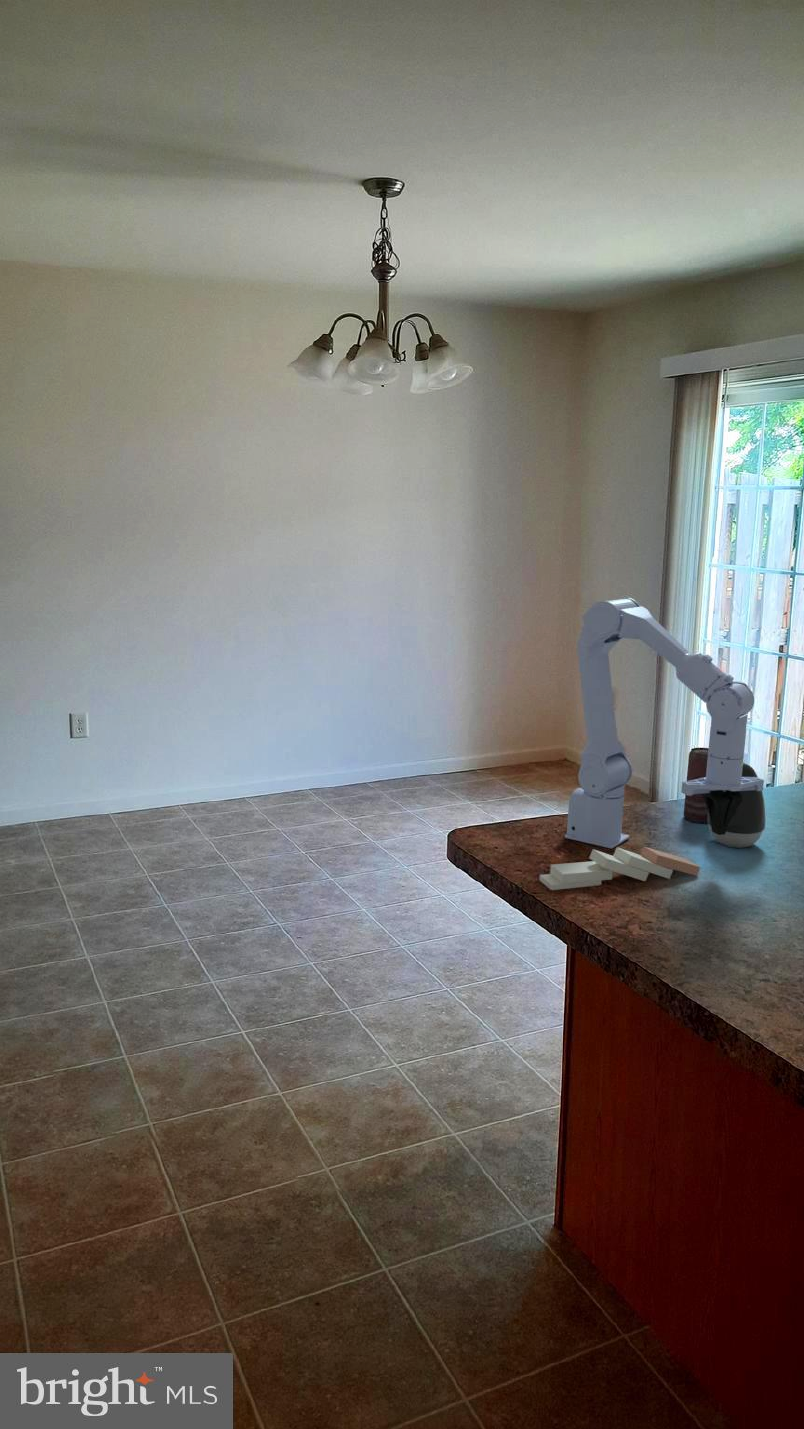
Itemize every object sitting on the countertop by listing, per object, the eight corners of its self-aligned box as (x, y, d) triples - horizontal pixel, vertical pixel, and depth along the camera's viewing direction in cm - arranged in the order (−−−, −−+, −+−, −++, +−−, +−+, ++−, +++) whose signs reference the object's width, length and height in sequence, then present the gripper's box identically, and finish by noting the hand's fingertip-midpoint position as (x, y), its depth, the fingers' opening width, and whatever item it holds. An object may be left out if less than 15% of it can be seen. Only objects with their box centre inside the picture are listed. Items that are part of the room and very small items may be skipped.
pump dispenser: (692, 837, 196) (699, 758, 192) (736, 831, 200) (744, 754, 196) (729, 855, 186) (737, 772, 183) (775, 848, 191) (783, 768, 187)
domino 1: (601, 888, 171) (551, 894, 168) (588, 879, 175) (539, 884, 172) (601, 879, 171) (551, 884, 168) (588, 870, 175) (539, 874, 172)
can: (719, 817, 208) (726, 749, 205) (710, 826, 202) (716, 755, 199) (689, 812, 211) (695, 744, 208) (679, 820, 206) (685, 750, 203)
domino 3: (645, 881, 173) (603, 867, 169) (630, 871, 177) (589, 858, 173) (649, 872, 173) (607, 858, 169) (633, 863, 177) (592, 849, 173)
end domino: (697, 875, 176) (655, 864, 173) (681, 866, 180) (640, 855, 177) (700, 867, 176) (658, 855, 172) (684, 858, 180) (643, 846, 176)
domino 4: (669, 878, 174) (627, 864, 171) (654, 869, 178) (613, 855, 175) (673, 870, 174) (631, 855, 171) (657, 861, 178) (616, 847, 175)
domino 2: (612, 879, 171) (562, 883, 168) (598, 869, 175) (550, 873, 172) (612, 869, 171) (563, 874, 168) (599, 860, 175) (550, 864, 172)
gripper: (700, 763, 169) (693, 843, 172) (777, 759, 173) (769, 837, 176) (677, 752, 176) (671, 830, 179) (752, 748, 180) (745, 824, 183)
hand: (718, 832), depth 178 cm, fingers closed
